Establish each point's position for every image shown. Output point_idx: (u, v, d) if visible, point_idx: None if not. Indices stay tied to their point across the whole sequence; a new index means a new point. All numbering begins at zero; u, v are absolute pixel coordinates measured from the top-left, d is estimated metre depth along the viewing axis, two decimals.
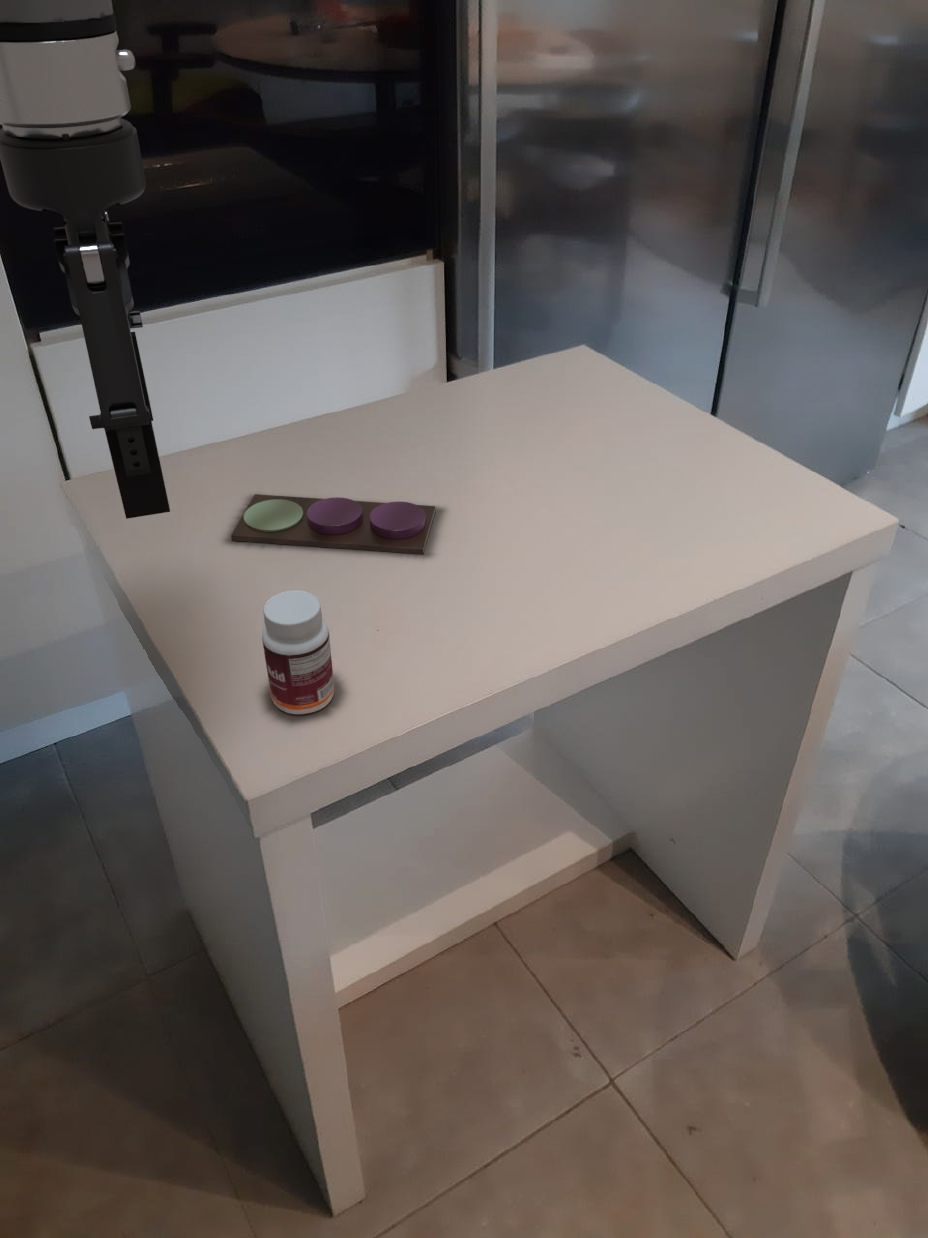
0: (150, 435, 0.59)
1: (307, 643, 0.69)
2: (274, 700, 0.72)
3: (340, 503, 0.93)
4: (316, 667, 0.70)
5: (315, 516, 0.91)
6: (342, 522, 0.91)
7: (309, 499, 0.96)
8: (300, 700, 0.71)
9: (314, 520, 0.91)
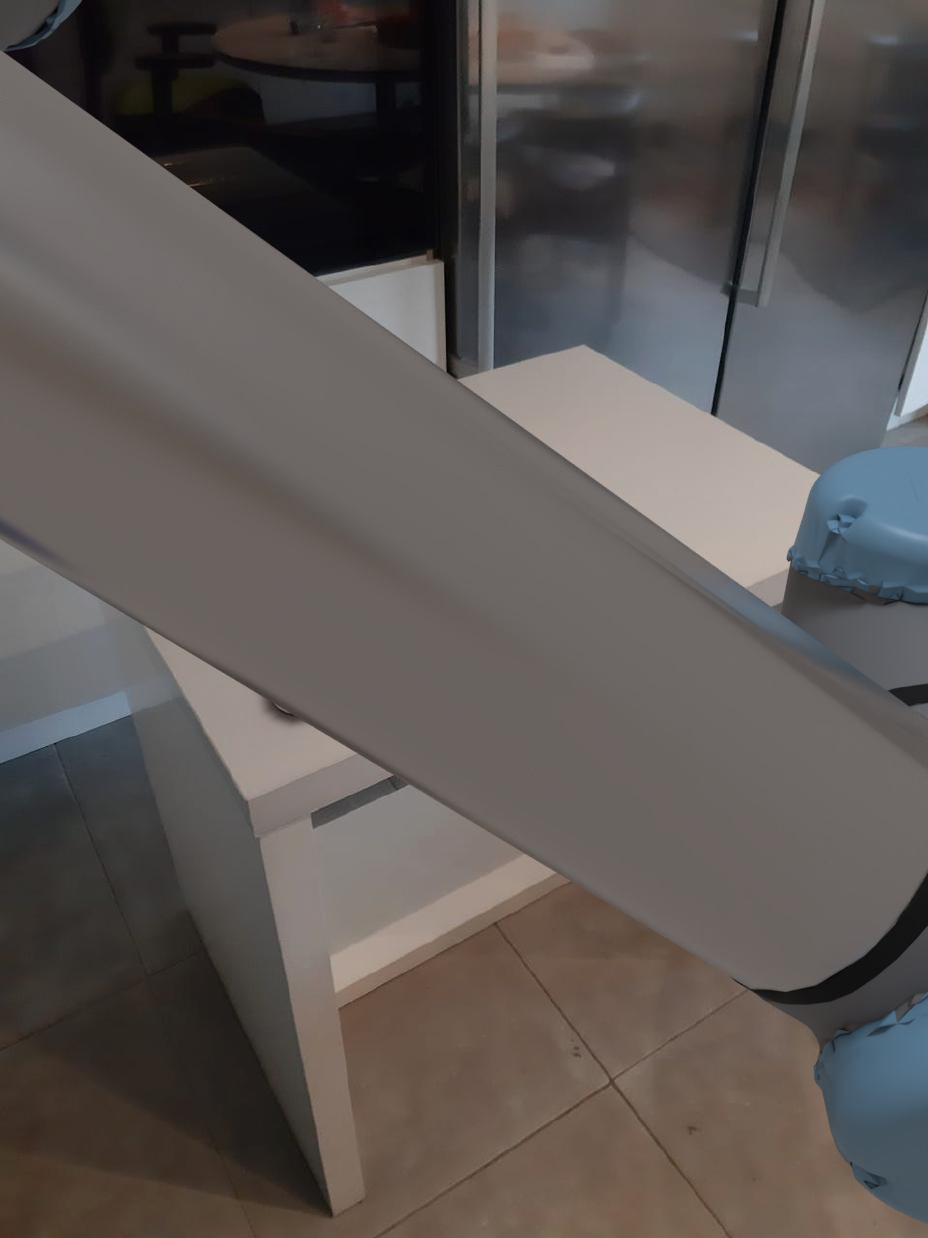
0: None
1: None
2: None
3: None
4: None
5: None
6: None
7: None
8: None
9: None
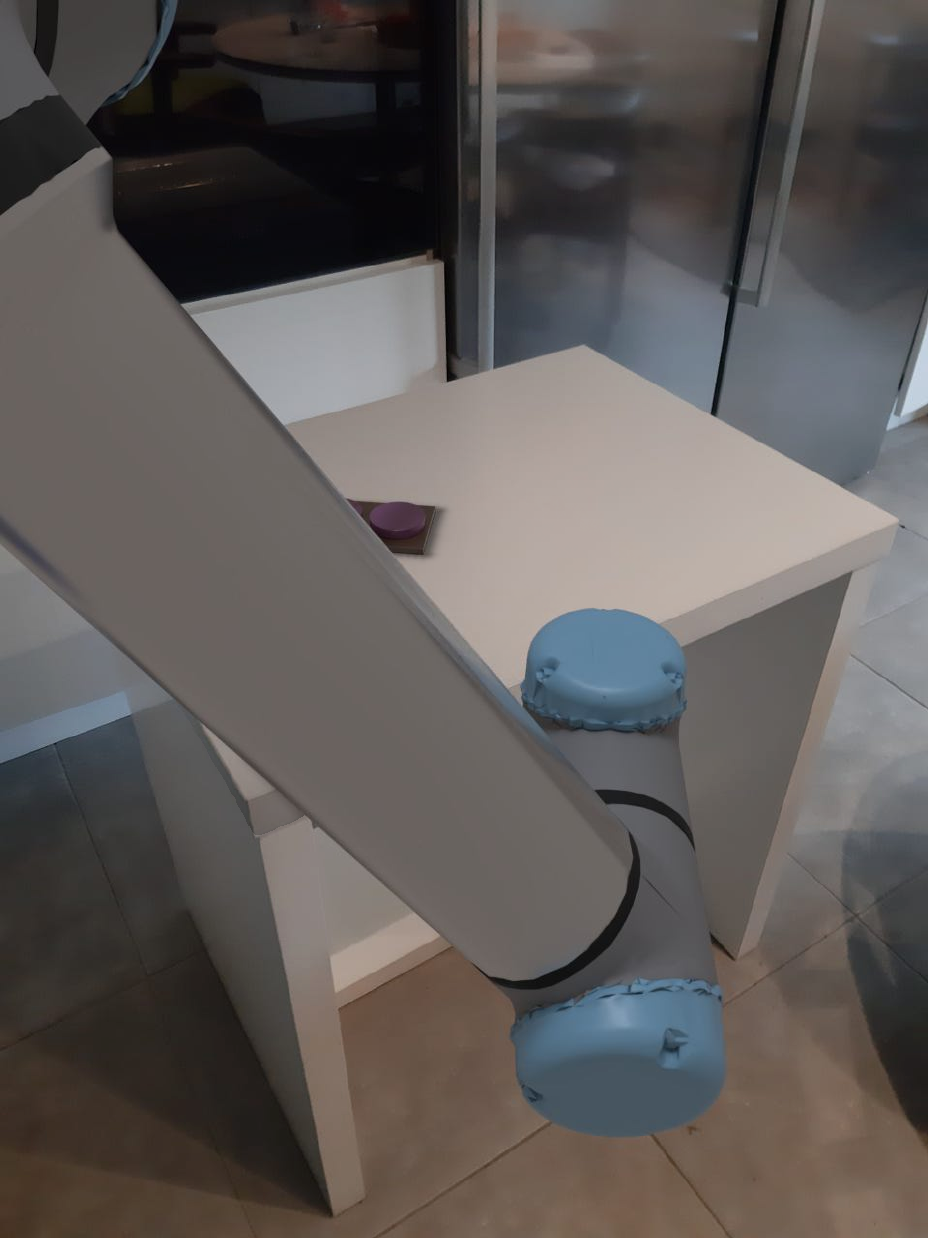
0: None
1: None
2: None
3: None
4: None
5: None
6: None
7: None
8: None
9: None
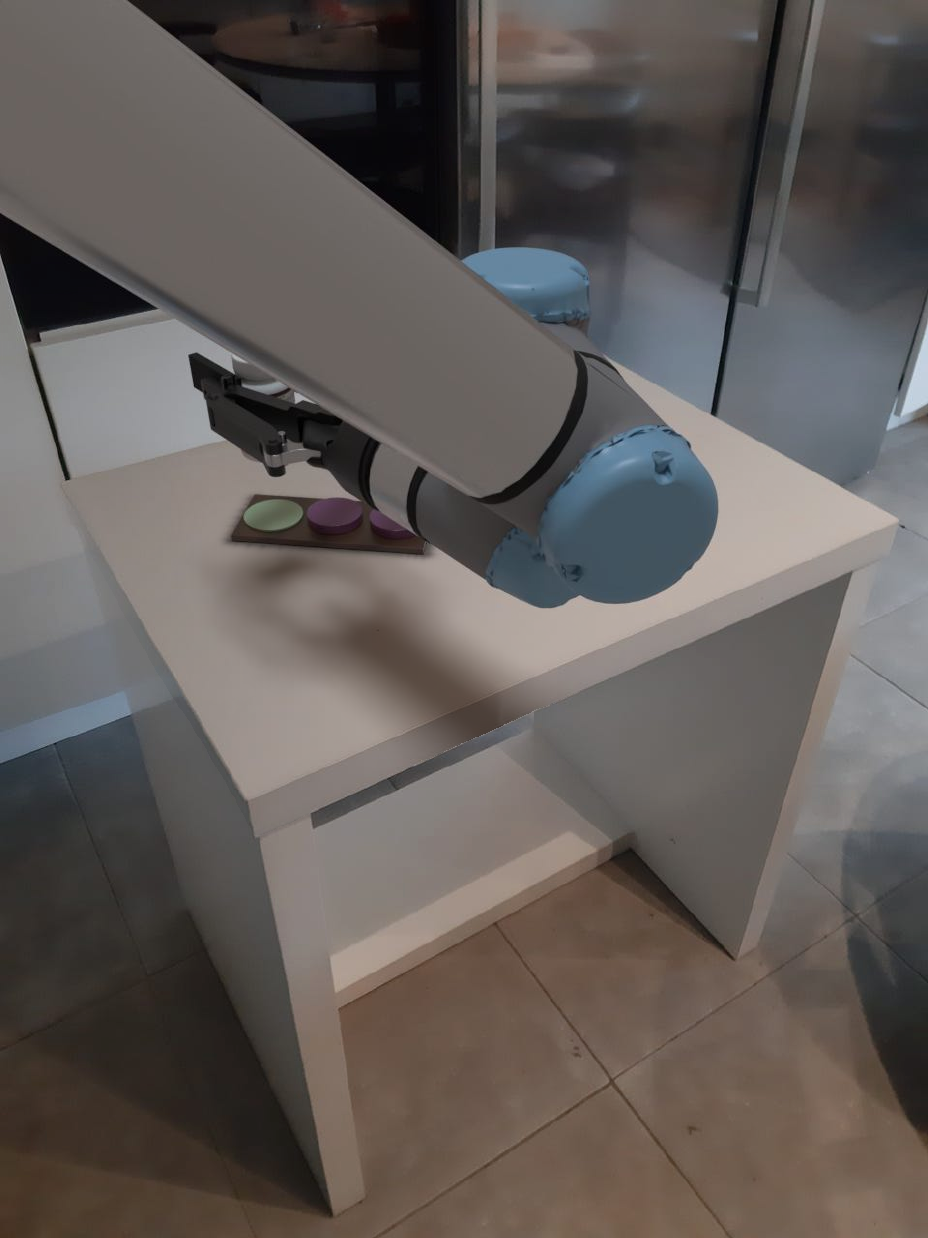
0: None
1: (271, 385, 0.74)
2: None
3: (340, 503, 0.93)
4: None
5: (315, 516, 0.91)
6: (342, 522, 0.91)
7: (309, 499, 0.96)
8: None
9: (314, 520, 0.91)
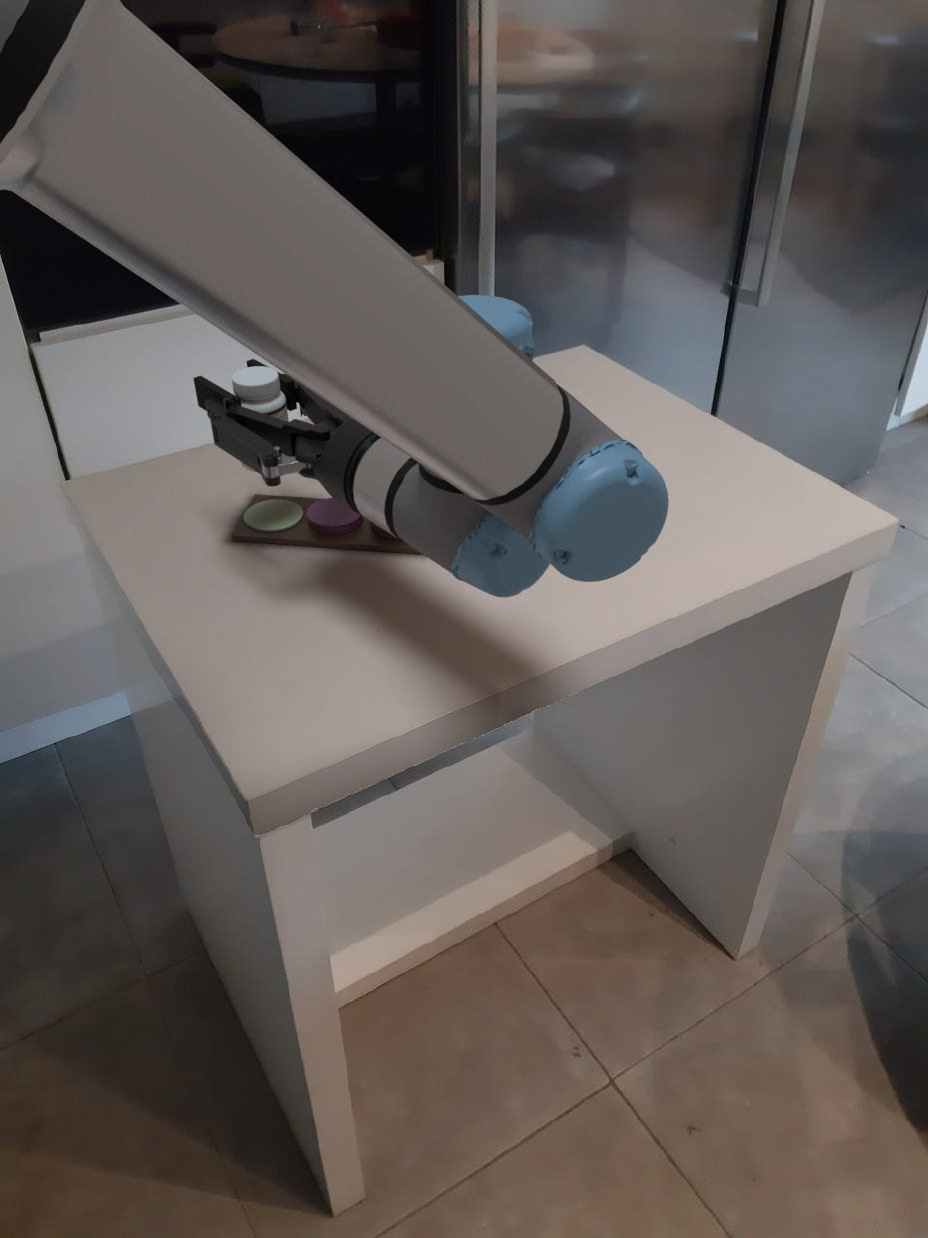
0: None
1: (267, 404, 0.84)
2: None
3: (340, 503, 0.93)
4: None
5: (315, 516, 0.91)
6: (342, 522, 0.91)
7: (309, 499, 0.96)
8: None
9: (314, 520, 0.91)
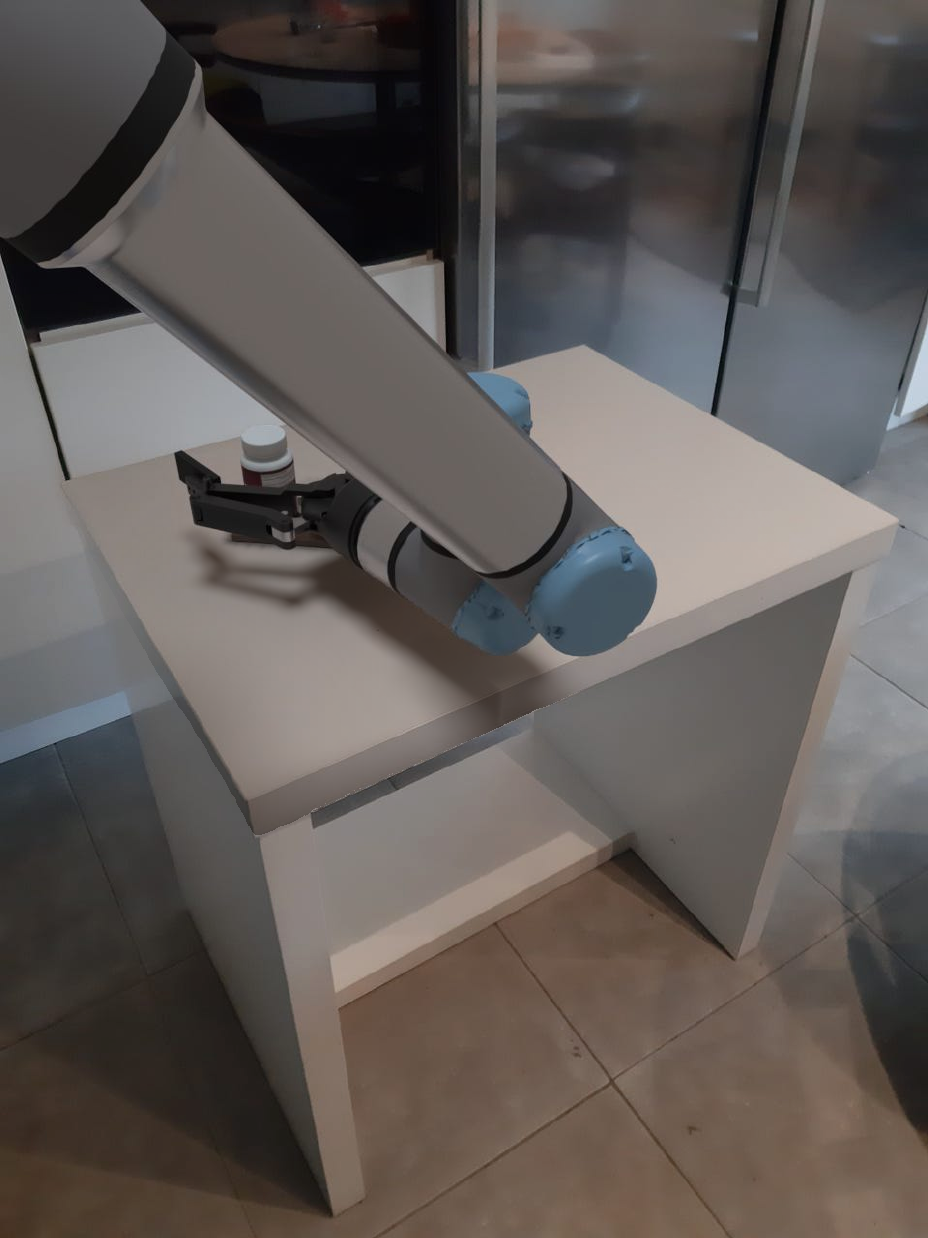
0: None
1: (275, 462, 0.88)
2: None
3: None
4: (282, 484, 0.89)
5: None
6: None
7: None
8: None
9: None
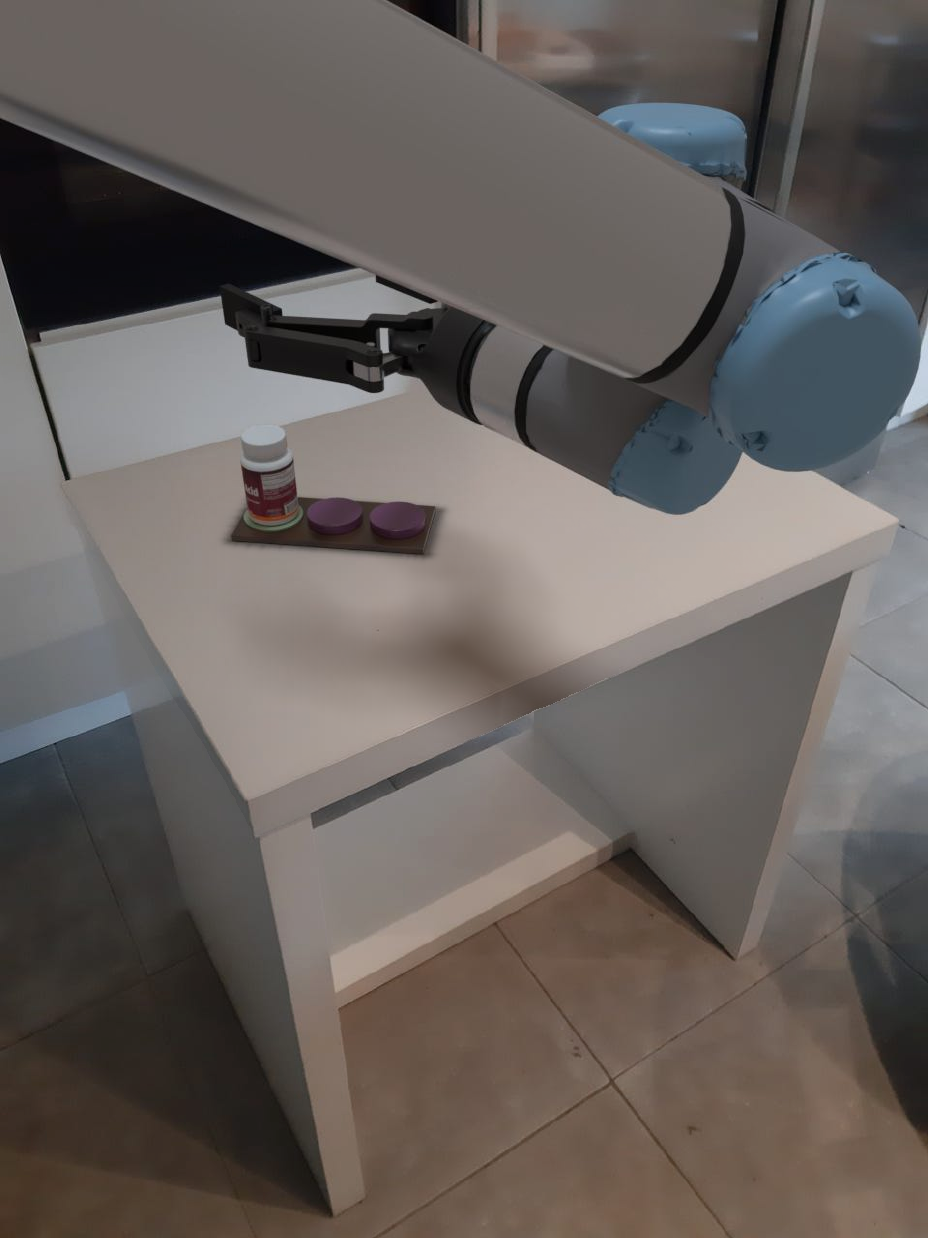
0: None
1: (275, 462, 0.88)
2: (250, 515, 0.92)
3: (340, 503, 0.93)
4: (282, 484, 0.89)
5: (315, 516, 0.91)
6: (342, 522, 0.91)
7: (309, 499, 0.96)
8: (270, 512, 0.90)
9: (314, 520, 0.91)
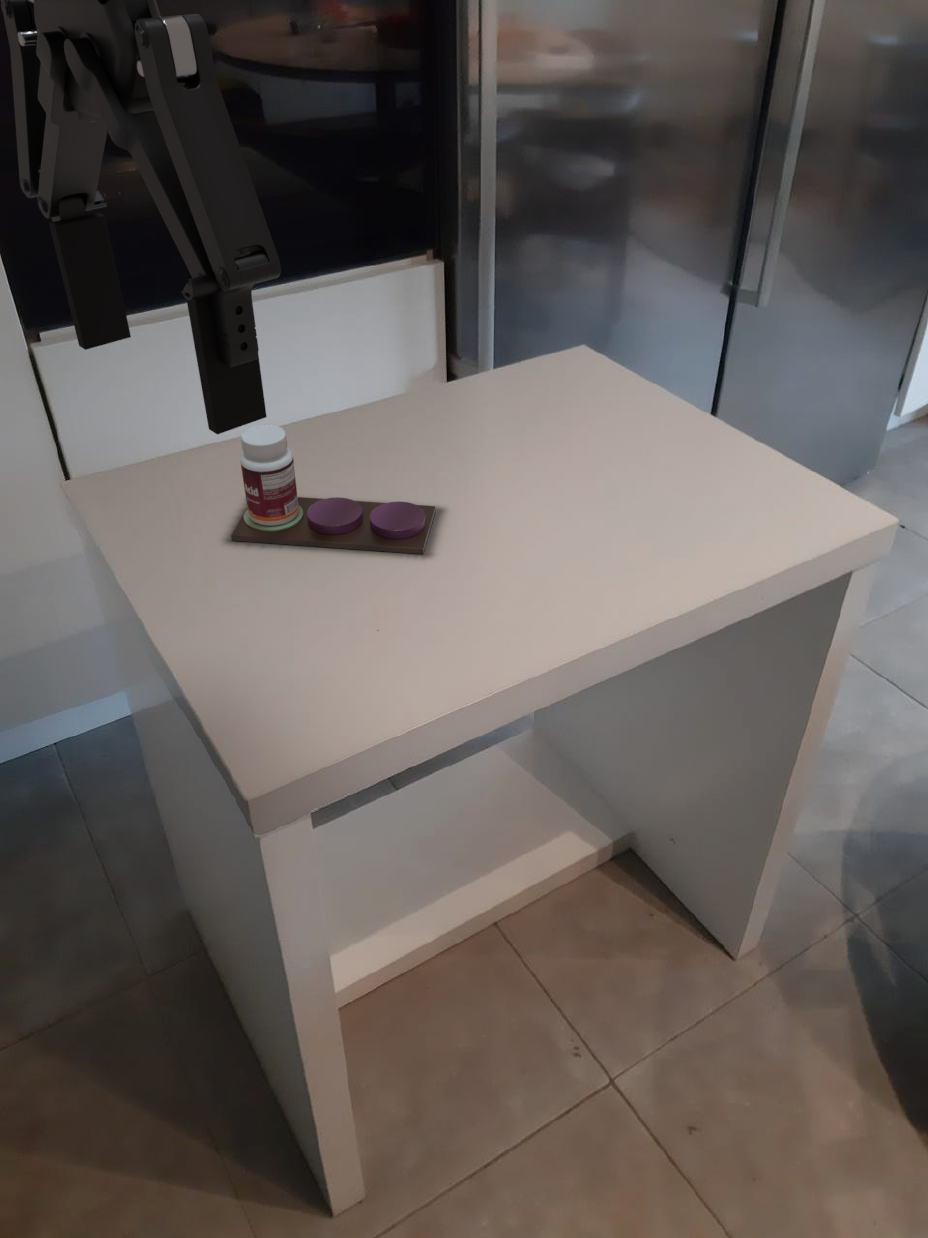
0: None
1: (275, 462, 0.88)
2: (250, 515, 0.92)
3: (340, 503, 0.93)
4: (282, 484, 0.89)
5: (315, 516, 0.91)
6: (342, 522, 0.91)
7: (309, 499, 0.96)
8: (270, 512, 0.90)
9: (314, 520, 0.91)
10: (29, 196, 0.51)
